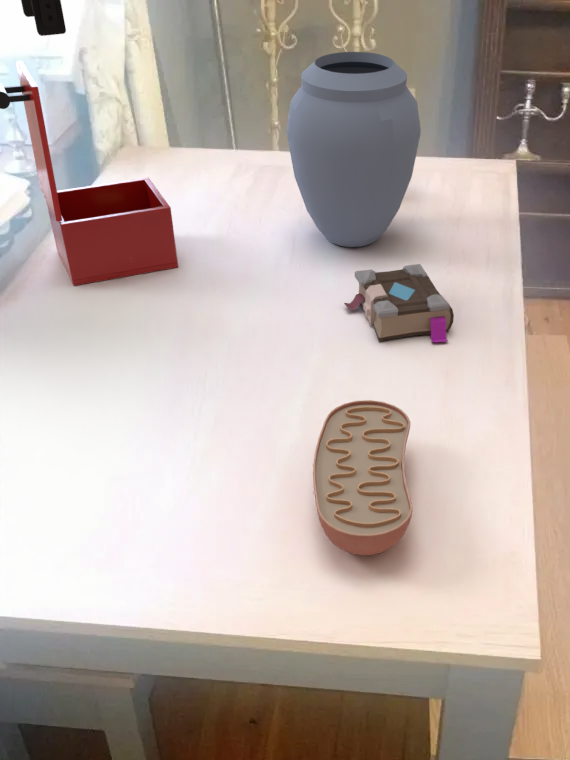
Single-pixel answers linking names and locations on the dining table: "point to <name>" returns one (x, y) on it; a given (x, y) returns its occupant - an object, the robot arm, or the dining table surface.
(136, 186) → the red open box
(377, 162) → the vase
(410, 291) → the book
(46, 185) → the red box lid
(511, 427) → the dining table surface
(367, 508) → the anatomical model
